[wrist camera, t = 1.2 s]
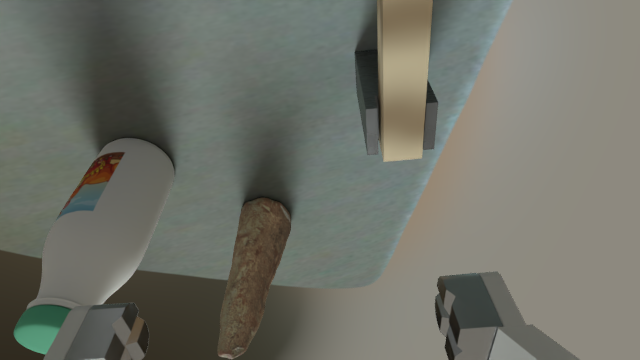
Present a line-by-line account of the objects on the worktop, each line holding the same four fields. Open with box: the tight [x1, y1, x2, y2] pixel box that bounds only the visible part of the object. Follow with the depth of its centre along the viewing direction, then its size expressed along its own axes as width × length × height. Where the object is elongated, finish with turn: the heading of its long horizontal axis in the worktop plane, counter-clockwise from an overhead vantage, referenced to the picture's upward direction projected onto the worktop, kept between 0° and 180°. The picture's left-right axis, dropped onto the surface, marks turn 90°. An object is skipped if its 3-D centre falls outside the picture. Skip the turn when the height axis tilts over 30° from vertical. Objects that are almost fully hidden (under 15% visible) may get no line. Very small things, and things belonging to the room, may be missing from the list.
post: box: [355, 50, 438, 155], centre depth 34 cm, size 4×5×10 cm
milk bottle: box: [14, 138, 175, 354], centre depth 36 cm, size 8×8×20 cm
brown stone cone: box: [218, 197, 291, 359], centre depth 42 cm, size 6×18×6 cm
